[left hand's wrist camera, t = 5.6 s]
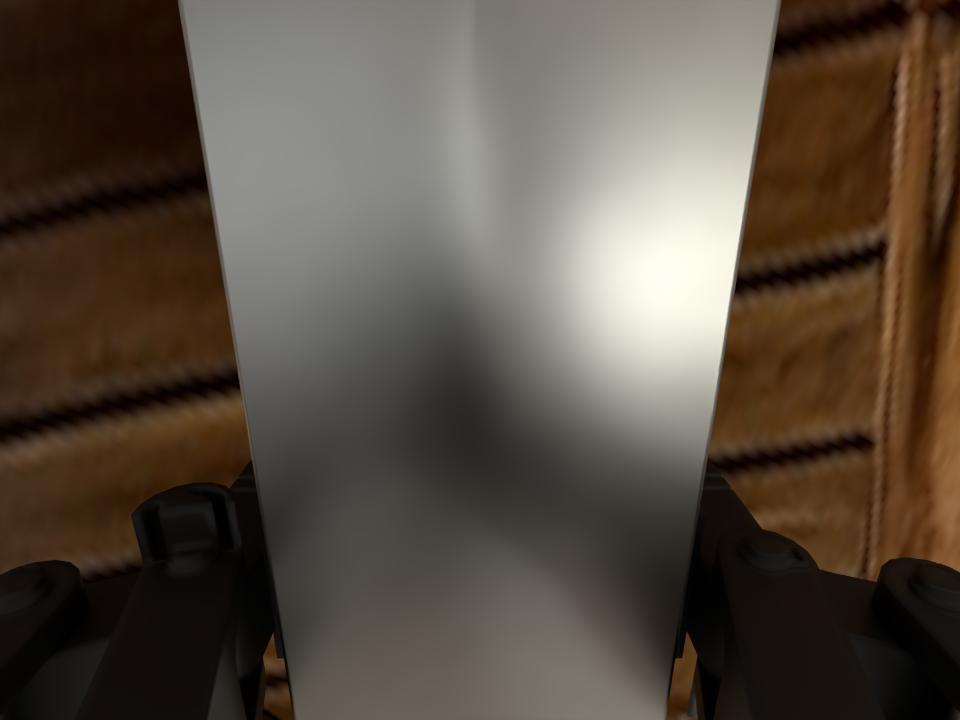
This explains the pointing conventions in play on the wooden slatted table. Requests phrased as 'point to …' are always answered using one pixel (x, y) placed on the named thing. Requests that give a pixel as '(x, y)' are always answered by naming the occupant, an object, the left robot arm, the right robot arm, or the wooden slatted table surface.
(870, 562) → the wooden slatted table surface
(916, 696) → the left robot arm
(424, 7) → the bar
